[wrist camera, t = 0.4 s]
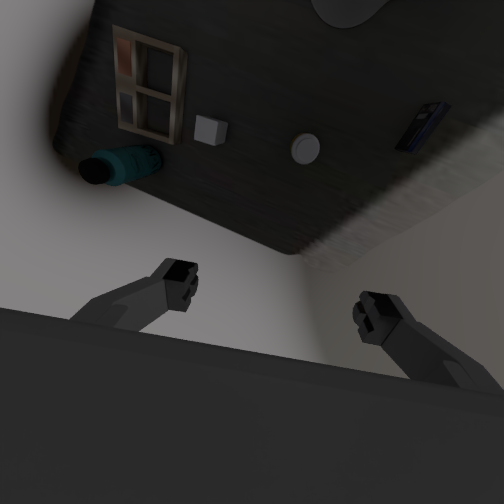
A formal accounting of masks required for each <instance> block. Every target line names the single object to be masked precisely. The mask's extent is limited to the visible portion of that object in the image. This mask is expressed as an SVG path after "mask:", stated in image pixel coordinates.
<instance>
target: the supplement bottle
mask: <svg viewBox="0 0 504 504" xmlns="http://www.w3.org/2000/svg"><path fill="white" fill-rule="evenodd" d="M319 149H320V145H319V141H318V140H317V138H316V137H315V136H314V135H312V134H308V133H300V134H298V135H296V136H295V137H294V138H293V139H292V141H291V144H290V152H291V155H292V157H293V159H294V160H295V161H296V162H298V163H300V164H308V163H310V162H312V161H313V160H314V159H315V158H316V157H317V155H318V153H319Z"/></svg>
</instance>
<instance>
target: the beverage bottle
mask: <svg viewBox="0 0 504 504" xmlns="http://www.w3.org/2000/svg"><path fill="white" fill-rule="evenodd" d="M160 167H161V158H160V155H159V154H158V152H157V151H156V150H155V149H154V148H152V147H150V146H148V145H145V144H144V145H140V146H139V145H135V146H131V147H130V146H129V147H121V148H119V147H118V148H114V149H106V150H104V149H103V150H98V151H96V152H95V153H94V154H93V156H92V158H88V159H86V160H83V161H81V162H80V163H79V167H78V169H79V172H80V175H81V176H82V178H83V179H84V180H85V181H87V182H88V183H90V184H103V183H105V184H107V185H111V186H118V185H121V184H123V183H126V182H129V181H133V180H136V179H137V180H138V179H141V177H146V176H147V175H149V176H150V174H153V173H156V172H157V171H158V170H159V169H160Z"/></svg>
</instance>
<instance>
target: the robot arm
mask: <svg viewBox="0 0 504 504" xmlns="http://www.w3.org/2000/svg"><path fill="white" fill-rule="evenodd" d="M388 1H389V0H311V2H312V4H313V7H314V9H315V11H316V12H317V14H318V15H319V16H320V18H321V19H322V20H323V21H324V22H326V23H327V24H329V25H331V26H333V27H336V28H350V27H354V26H357V25H359V24H361V23H363V22H365V21H366V20H368V19H369V18H370V17H372V16H373V15H374V14H375V13H376V12H377V11H378V10H379V9H380V8H381V7H382V6H383V5H384V4H385V3H386V2H388ZM197 271H198V264H197V263H194V262H188V261H183V260H177V259H171V258H166V259H165V260H164V261H163V262H162V263H161V264H160V266H159V267H158V268H157V269H156V270H155V271H154V273H153V274H152V275H151V276H150V277H144V278H142V279H140V280H137V281H135V282H132V283H130V284H127V285H125V286H122V287H120V288H117V289H115V290H112V291H110V292H107V293H105V294H102V295H100V296H98V297H95V298H93V299H91V300H90V301H89V302H88V303H87V304H86V305H85V306H83V307H82V308H81V309H80V310H79V311H78V312H77V313H76V314H75V315H74V316H73V317H72V318H70V319H69V320H68V319H63V318H57V317H51V316H45V315H39V314H34V313H28V312H22V311H17V310H11V309H5V308H0V504H504V390H503V389H502V388H501V386H500V385H499V384H498V383H497V382H496V381H495V379H494V378H493V377H492V376H491V375H490V373H489V372H488V371H487V370H486V369H485V368H484V366H482V365H481V364H479V363H478V362H476V361H475V360H474V359H472V358H471V357H469V356H468V355H466V354H465V353H464V352H462V351H461V350H459V349H458V348H456V347H455V346H453V345H452V344H451V343H449V342H447V341H446V340H445V339H443V338H442V337H441V336H439V335H438V334H436V333H435V332H433V331H432V330H431V329H429V328H428V327H426V326H425V325H423V324H422V323H420V322H417V321H416V320H415V319H414V317H413V316H412V314H411V313H410V312H409V310H408V309H407V307H406V306H405V305H404V303H403V302H402V301H401V299H400V298H399V297H398V296H397V295H391V294H381V293H375V292H369V291H363V292H362V293H361V294H360V296H359V298H360V301H359V302H357V303H355V305H354V308H353V319H354V322H355V323H356V324H357V325H358V326H359V329H358V332H359V334H360V337H361V340H362V342H364V343H368V344H373V345H379V346H381V347H382V348H383V350H384V351H385V352H386V353H387V354H388V355H389V356H390V357H391V358H392V359H393V361H395V363H396V364H397V365H398V366H399V367H400V368H401V369H402V370H403V371H404V372H405V374H406V375H407V376H408V377H409V378H410V379H406V378H400V377H394V376H389V375H383V374H377V373H371V372H366V371H360V370H354V369H349V368H343V367H337V366H332V365H326V364H320V363H314V362H309V361H303V360H297V359H292V358H286V357H280V356H274V355H269V354H262V353H257V352H251V351H245V350H240V349H234V348H229V347H223V346H217V345H211V344H205V343H199V342H194V341H188V340H183V339H177V338H171V337H165V336H160V335H154V334H148V333H143V332H138V331H140V330H141V329H143V328H144V327H146V326H147V325H148V324H150V323H151V322H153V321H154V320H155V319H157V318H158V317H160V316H161V315H162V314H164V313H165V312H167V311H168V310H175V311H182V312H186V311H187V309H188V307H189V305H190V303H191V297H192V296H194V295H195V293H196V290H197V286H198V276H197V275H196V273H197Z"/></svg>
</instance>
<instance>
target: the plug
mask: <svg viewBox="0 0 504 504" xmlns="http://www.w3.org/2000/svg"><path fill="white" fill-rule="evenodd" d="M227 127H228V123H227V122H224V121H221V120H218V119H215V118H212V117H206V116H200V115H197V117H196V126H195V135H194V139H195V140H198V141H201V142H204V143H207V144H211V145H214V146H215V145H218V144H222V143H225V138H226V132H227Z"/></svg>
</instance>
